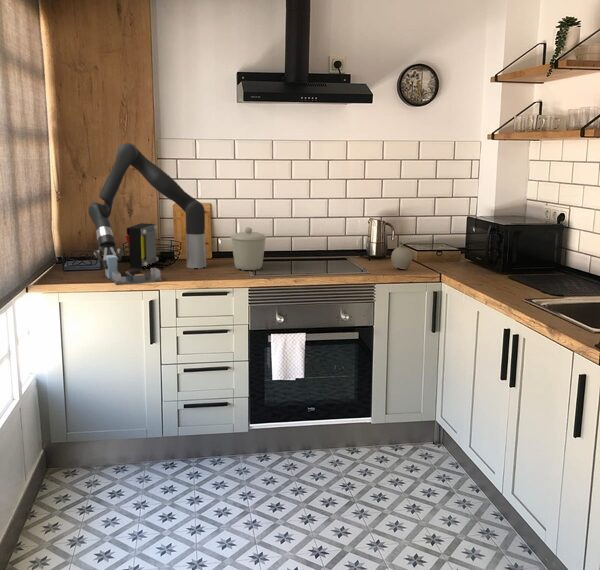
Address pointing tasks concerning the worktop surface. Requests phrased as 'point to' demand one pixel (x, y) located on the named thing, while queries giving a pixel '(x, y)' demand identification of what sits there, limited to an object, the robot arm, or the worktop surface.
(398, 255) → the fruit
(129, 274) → the rack
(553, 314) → the worktop surface
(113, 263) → the pale blue upright block
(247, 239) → the canister
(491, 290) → the worktop surface
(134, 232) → the electrical component
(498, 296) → the worktop surface
